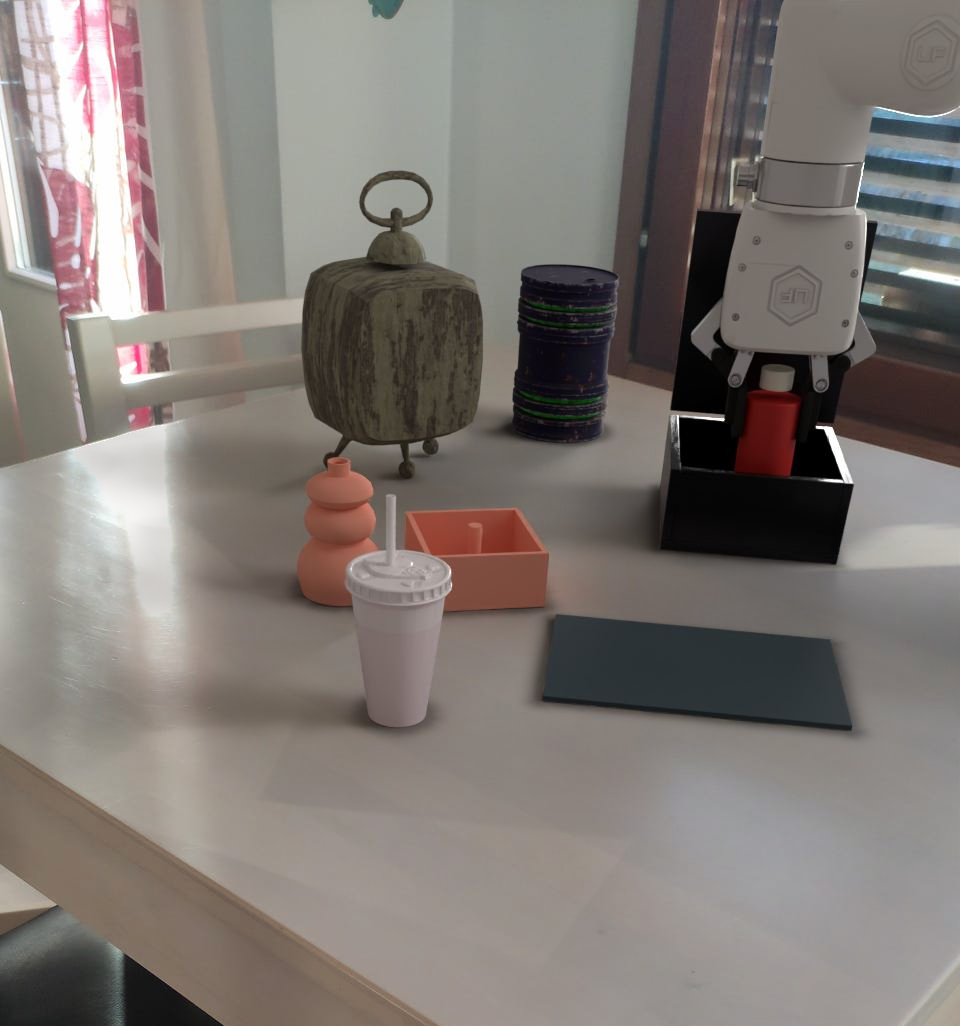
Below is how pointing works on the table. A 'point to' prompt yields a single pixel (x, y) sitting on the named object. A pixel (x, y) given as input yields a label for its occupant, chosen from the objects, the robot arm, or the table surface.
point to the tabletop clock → (392, 341)
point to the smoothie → (397, 625)
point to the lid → (694, 371)
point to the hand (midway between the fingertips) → (768, 433)
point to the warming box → (751, 496)
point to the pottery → (421, 546)
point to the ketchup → (770, 424)
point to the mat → (695, 672)
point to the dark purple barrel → (563, 351)
